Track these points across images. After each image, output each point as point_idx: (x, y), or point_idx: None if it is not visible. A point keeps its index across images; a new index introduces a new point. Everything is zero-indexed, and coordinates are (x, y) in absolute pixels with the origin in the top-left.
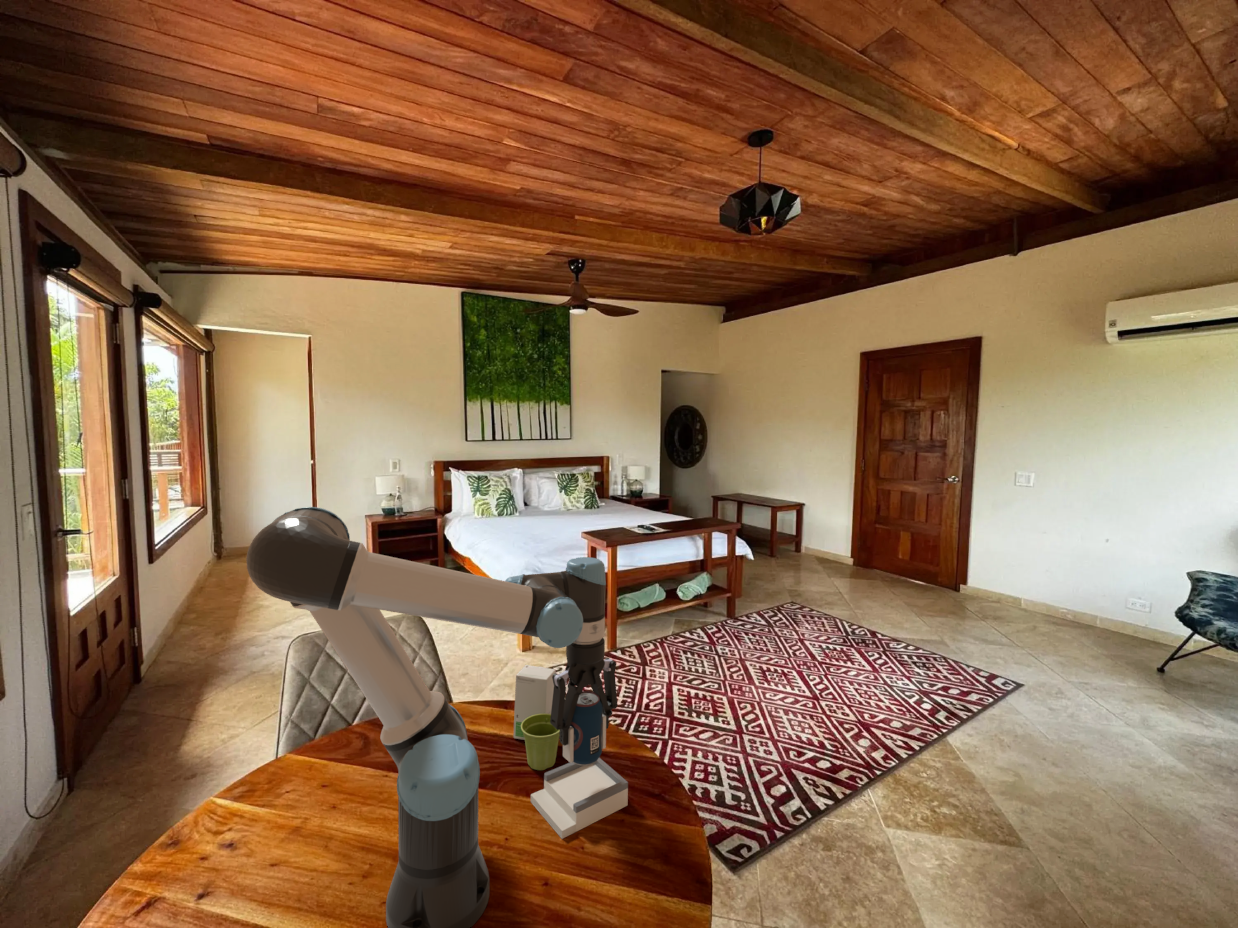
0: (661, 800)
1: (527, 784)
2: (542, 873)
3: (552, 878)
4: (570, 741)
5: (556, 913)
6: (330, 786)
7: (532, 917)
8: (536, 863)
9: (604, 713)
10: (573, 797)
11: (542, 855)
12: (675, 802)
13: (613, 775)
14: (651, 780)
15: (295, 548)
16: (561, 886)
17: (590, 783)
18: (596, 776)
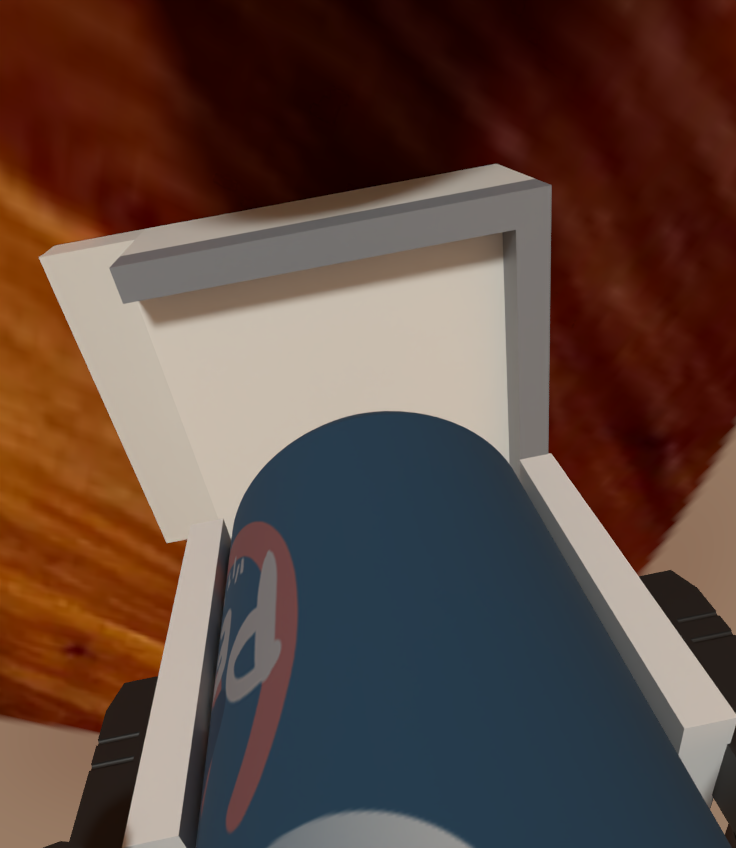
0: (638, 474)
1: (46, 56)
2: (69, 619)
3: (102, 641)
4: None
5: (94, 722)
6: None
7: (22, 718)
8: (51, 583)
9: (727, 810)
10: (257, 471)
11: (79, 561)
12: (671, 500)
13: (518, 450)
14: (705, 352)
15: None
16: (126, 667)
17: (388, 407)
18: (448, 366)
